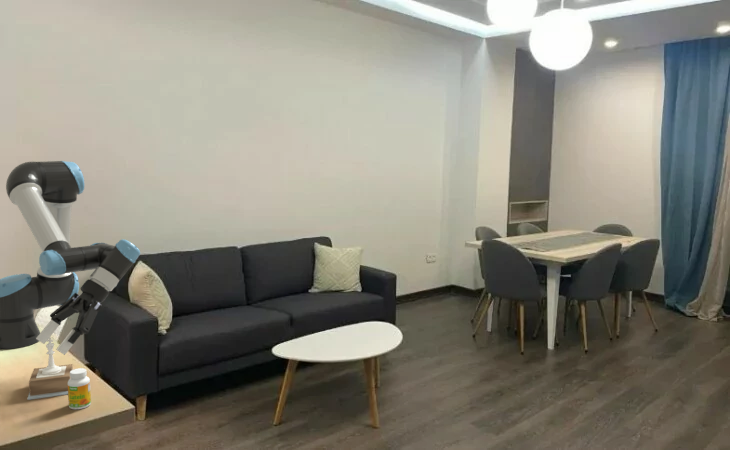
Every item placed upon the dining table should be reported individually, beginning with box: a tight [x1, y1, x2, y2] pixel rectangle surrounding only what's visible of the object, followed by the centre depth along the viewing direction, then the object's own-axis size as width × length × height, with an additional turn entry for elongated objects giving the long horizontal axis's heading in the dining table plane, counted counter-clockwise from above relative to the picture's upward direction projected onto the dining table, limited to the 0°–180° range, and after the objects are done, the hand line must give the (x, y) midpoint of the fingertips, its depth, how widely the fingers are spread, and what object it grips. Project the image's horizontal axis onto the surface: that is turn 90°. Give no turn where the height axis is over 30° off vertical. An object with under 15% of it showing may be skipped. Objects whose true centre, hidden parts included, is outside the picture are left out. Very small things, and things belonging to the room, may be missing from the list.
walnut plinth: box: [28, 363, 74, 396], centre depth 167 cm, size 10×10×5 cm
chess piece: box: [42, 337, 61, 375], centre depth 166 cm, size 5×5×10 cm
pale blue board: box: [27, 368, 75, 401], centre depth 170 cm, size 18×11×1 cm, turn 23°
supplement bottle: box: [67, 367, 92, 410], centre depth 156 cm, size 5×5×10 cm
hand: (49, 346), depth 166 cm, fingers open, 13 cm apart
